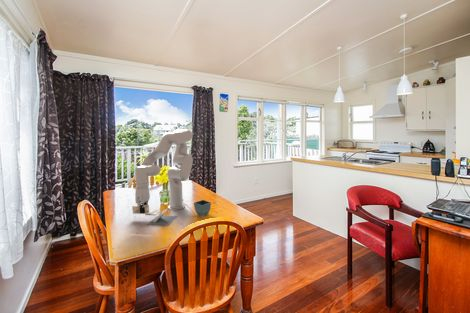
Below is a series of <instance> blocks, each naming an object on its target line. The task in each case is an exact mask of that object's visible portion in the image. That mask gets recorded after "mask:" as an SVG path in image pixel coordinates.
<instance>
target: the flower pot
mask: <svg viewBox="0 0 470 313" xmlns="http://www.w3.org/2000/svg"><path fill="white" fill-rule="evenodd" d="M193 206H194V207H193V208H194V210H195V213H196V214H197V215H198V216H200V217H204V216H207V215H208V214H209V213H210V210H211V206H212V202H211V201H209V200H205V199H201V200H198V201H195V202H193Z"/></svg>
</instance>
